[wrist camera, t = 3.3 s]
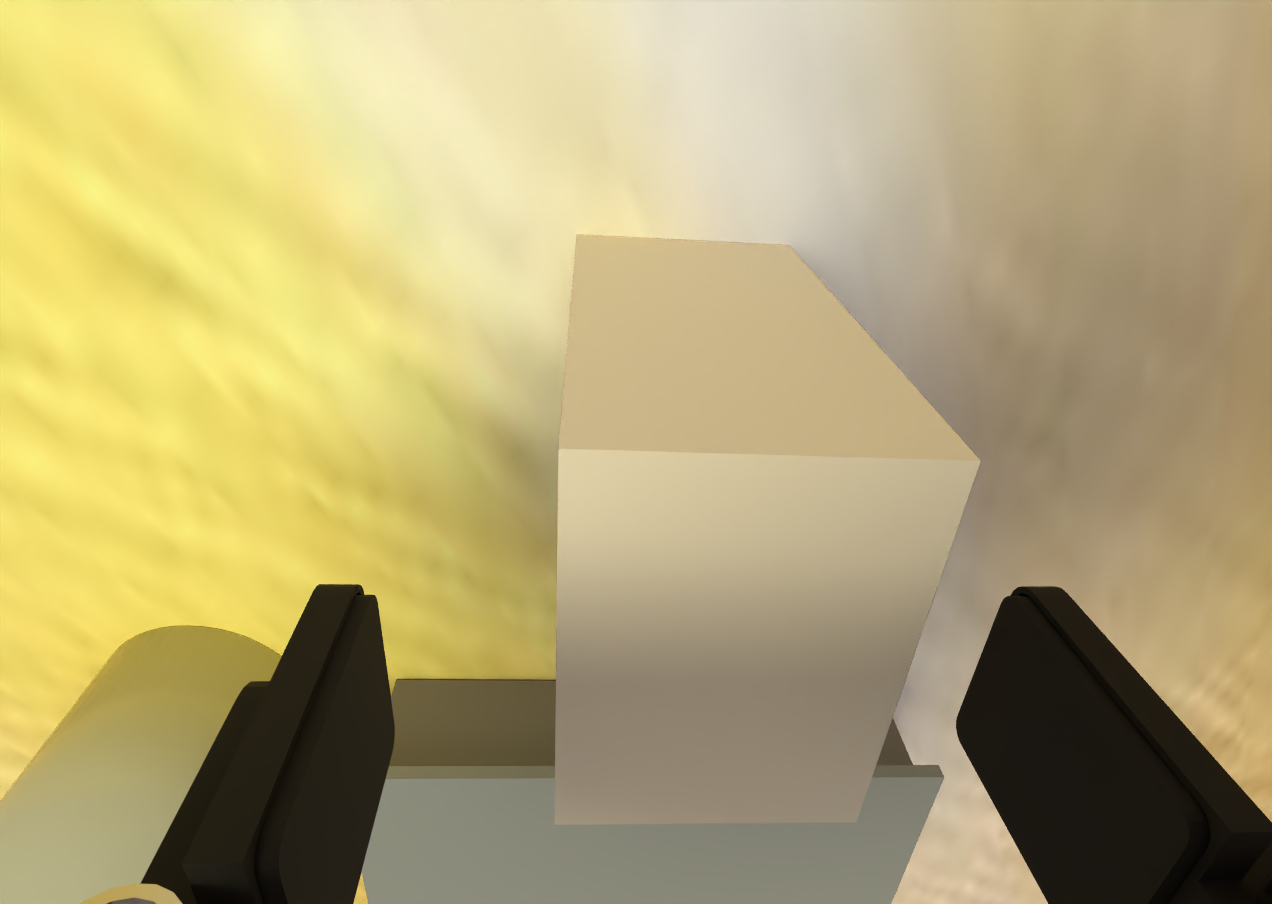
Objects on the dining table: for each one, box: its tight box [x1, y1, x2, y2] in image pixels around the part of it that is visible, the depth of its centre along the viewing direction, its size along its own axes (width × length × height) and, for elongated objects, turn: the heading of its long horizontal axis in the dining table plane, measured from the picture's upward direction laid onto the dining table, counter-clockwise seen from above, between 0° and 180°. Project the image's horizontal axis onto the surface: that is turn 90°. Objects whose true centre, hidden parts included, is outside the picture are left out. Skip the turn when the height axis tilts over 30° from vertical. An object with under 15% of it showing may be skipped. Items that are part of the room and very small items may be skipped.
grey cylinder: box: [0, 626, 282, 904], centre depth 20 cm, size 6×6×9 cm
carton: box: [554, 234, 981, 825], centre depth 15 cm, size 5×7×10 cm
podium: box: [362, 680, 944, 904], centre depth 27 cm, size 17×17×4 cm
